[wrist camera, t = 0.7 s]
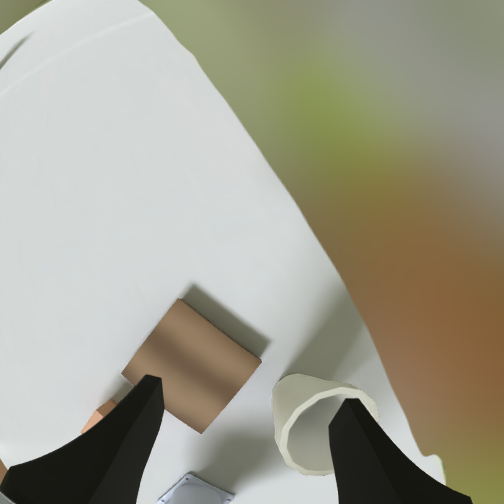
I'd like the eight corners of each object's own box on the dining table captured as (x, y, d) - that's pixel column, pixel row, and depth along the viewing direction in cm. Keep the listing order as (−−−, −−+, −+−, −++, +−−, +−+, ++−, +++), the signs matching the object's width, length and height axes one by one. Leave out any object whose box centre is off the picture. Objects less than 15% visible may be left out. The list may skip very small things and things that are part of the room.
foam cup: (248, 378, 31) (264, 416, 18) (315, 350, 33) (364, 368, 20) (274, 436, 30) (299, 489, 17) (336, 408, 31) (386, 444, 19)
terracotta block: (123, 443, 27) (111, 458, 22) (95, 420, 27) (80, 432, 22) (139, 422, 28) (128, 437, 23) (110, 398, 28) (95, 410, 24)
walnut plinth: (202, 424, 30) (201, 434, 27) (128, 368, 30) (120, 373, 27) (258, 357, 32) (262, 361, 29) (182, 299, 33) (178, 298, 30)
